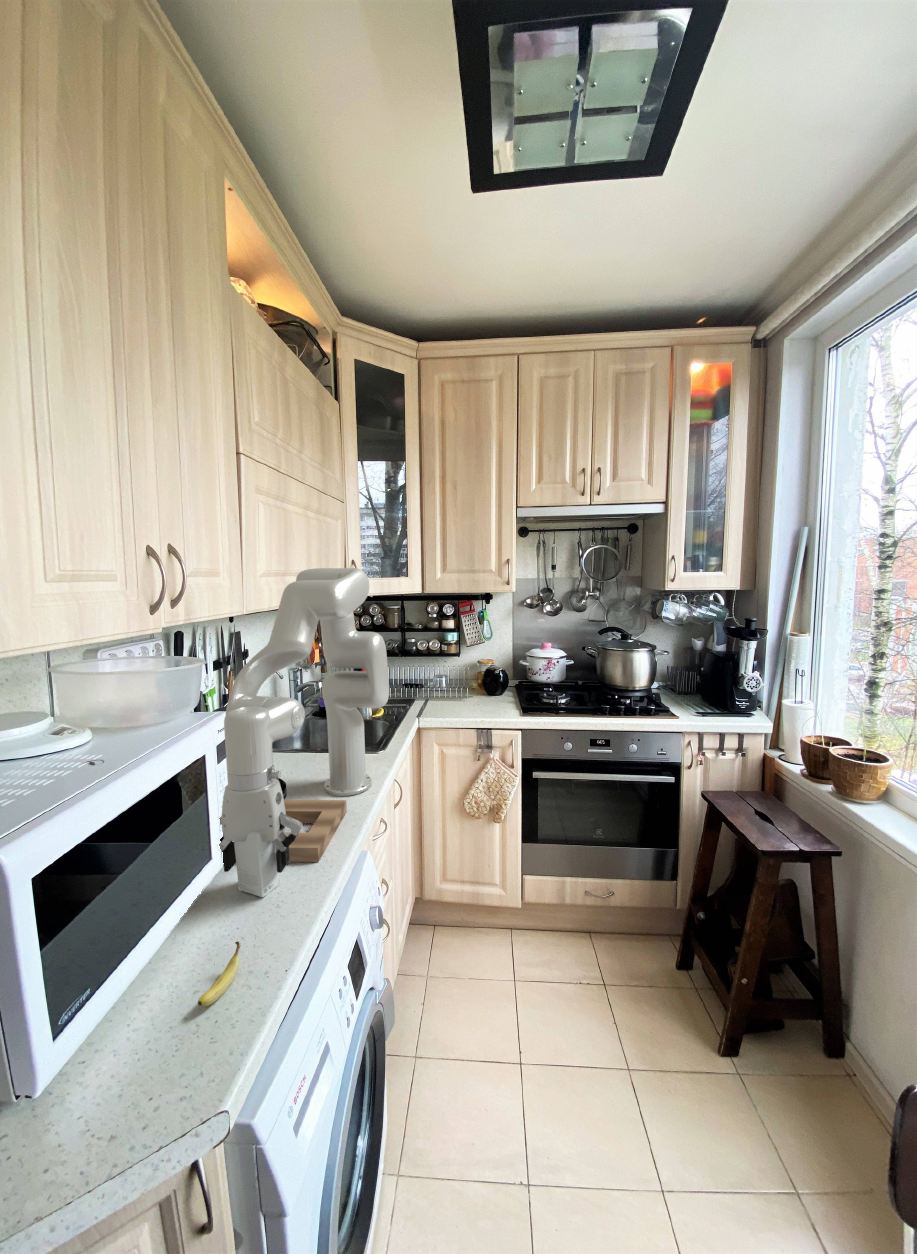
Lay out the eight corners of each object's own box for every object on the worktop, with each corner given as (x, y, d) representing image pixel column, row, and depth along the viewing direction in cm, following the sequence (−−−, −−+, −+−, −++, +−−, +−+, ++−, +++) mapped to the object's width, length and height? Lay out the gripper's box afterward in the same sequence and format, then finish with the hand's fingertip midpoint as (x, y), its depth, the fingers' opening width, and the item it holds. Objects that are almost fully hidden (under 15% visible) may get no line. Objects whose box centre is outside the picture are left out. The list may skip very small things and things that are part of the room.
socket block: (277, 811, 114) (276, 799, 114) (346, 811, 113) (346, 800, 113) (235, 860, 94) (234, 846, 94) (318, 861, 93) (318, 847, 93)
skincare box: (280, 884, 87) (276, 822, 85) (261, 900, 83) (257, 834, 81) (255, 876, 89) (251, 815, 88) (235, 891, 85) (231, 827, 84)
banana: (235, 964, 69) (234, 939, 68) (246, 966, 69) (244, 940, 68) (195, 1015, 61) (193, 987, 60) (207, 1017, 61) (205, 989, 60)
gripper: (306, 768, 87) (310, 856, 89) (215, 768, 88) (221, 854, 89) (290, 786, 79) (295, 881, 81) (190, 786, 80) (197, 880, 82)
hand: (256, 867), depth 85 cm, fingers open, 9 cm apart
